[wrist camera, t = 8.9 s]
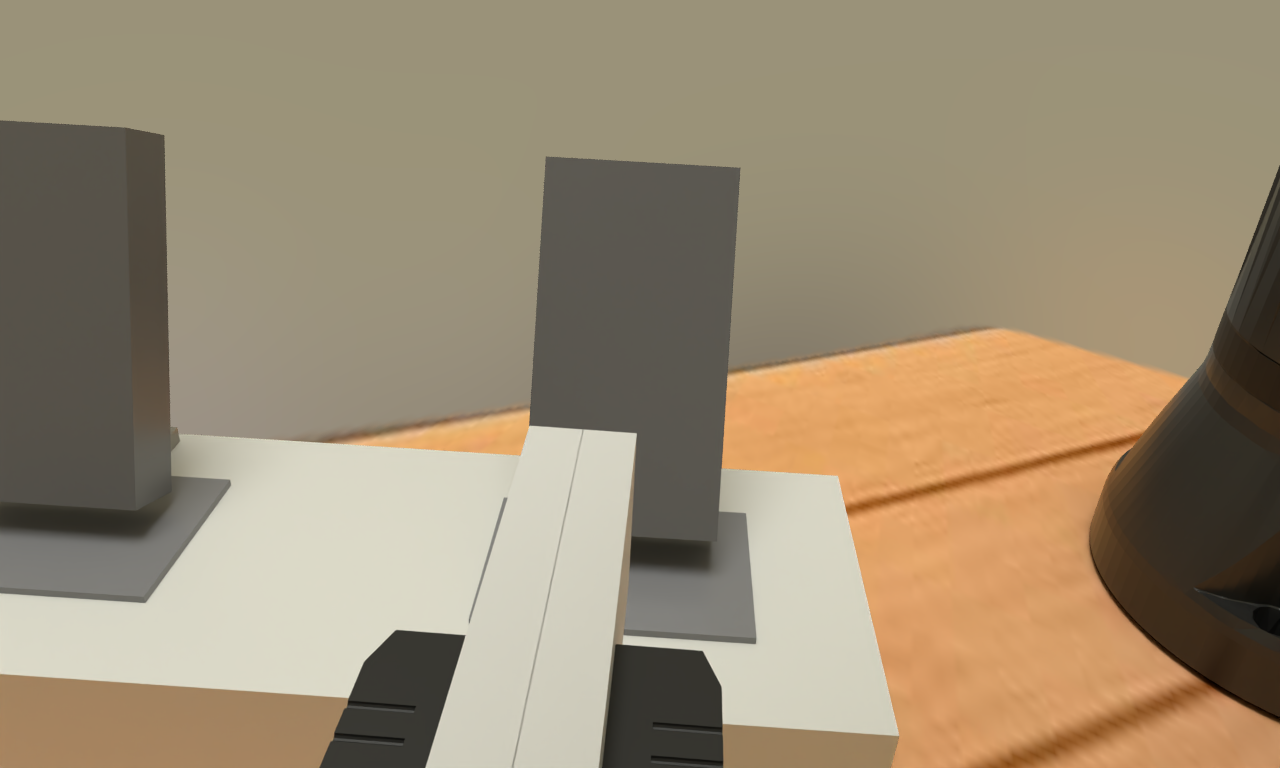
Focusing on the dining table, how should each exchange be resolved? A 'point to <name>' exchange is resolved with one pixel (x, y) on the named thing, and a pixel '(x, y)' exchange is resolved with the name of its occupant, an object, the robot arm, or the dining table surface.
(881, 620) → the dining table surface
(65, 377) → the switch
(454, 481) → the switch box
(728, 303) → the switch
